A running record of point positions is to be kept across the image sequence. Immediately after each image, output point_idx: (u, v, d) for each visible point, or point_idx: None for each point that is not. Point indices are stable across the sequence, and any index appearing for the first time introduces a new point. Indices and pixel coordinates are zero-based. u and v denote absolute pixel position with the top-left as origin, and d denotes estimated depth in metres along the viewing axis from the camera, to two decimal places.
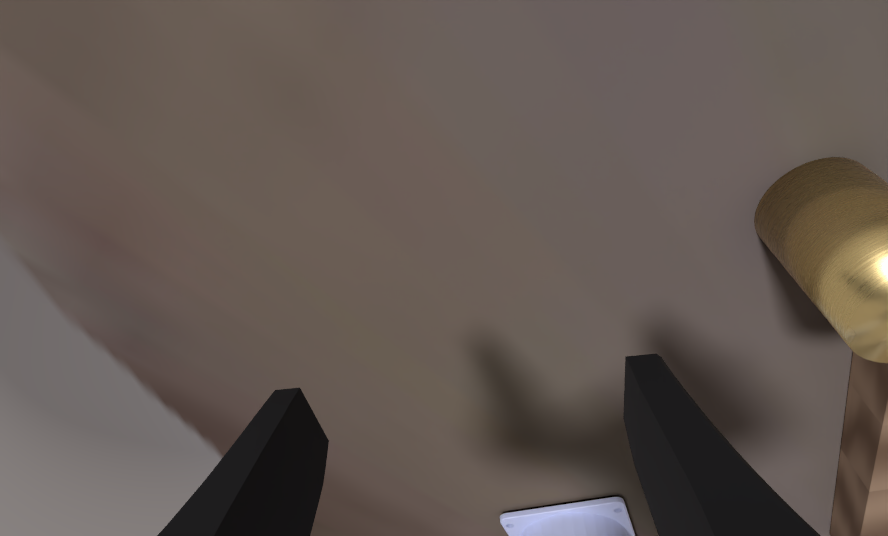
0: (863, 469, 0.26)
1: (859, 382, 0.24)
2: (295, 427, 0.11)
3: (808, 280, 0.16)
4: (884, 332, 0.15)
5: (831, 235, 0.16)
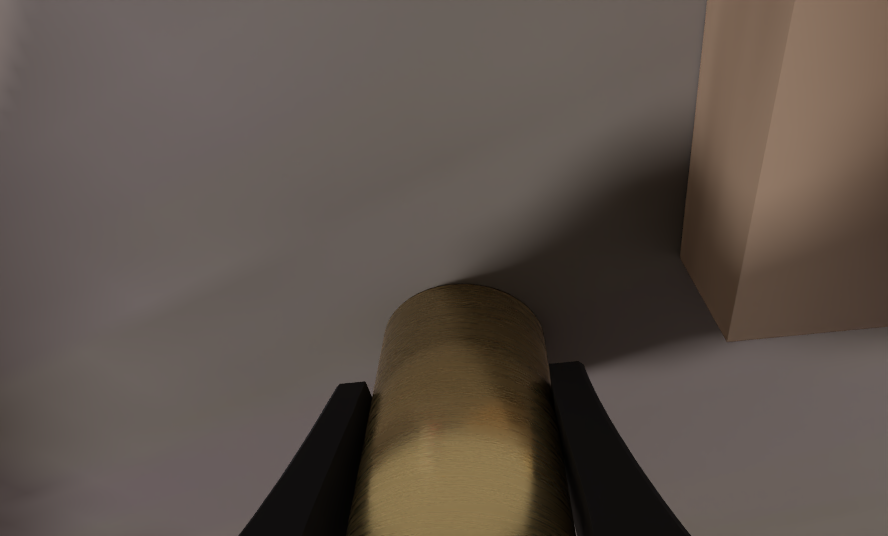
0: None
1: None
2: (363, 421, 0.11)
3: None
4: None
5: None
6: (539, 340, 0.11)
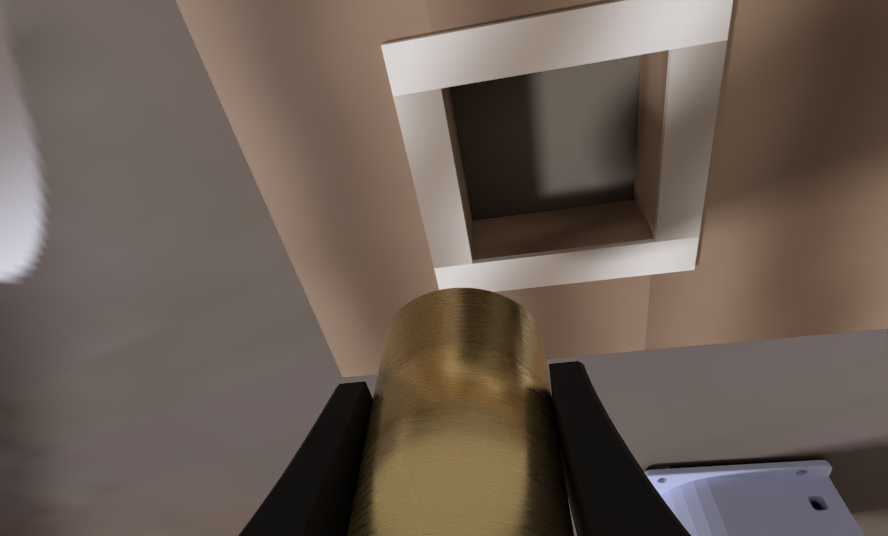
0: None
1: None
2: (363, 422, 0.11)
3: None
4: None
5: None
6: (541, 348, 0.12)
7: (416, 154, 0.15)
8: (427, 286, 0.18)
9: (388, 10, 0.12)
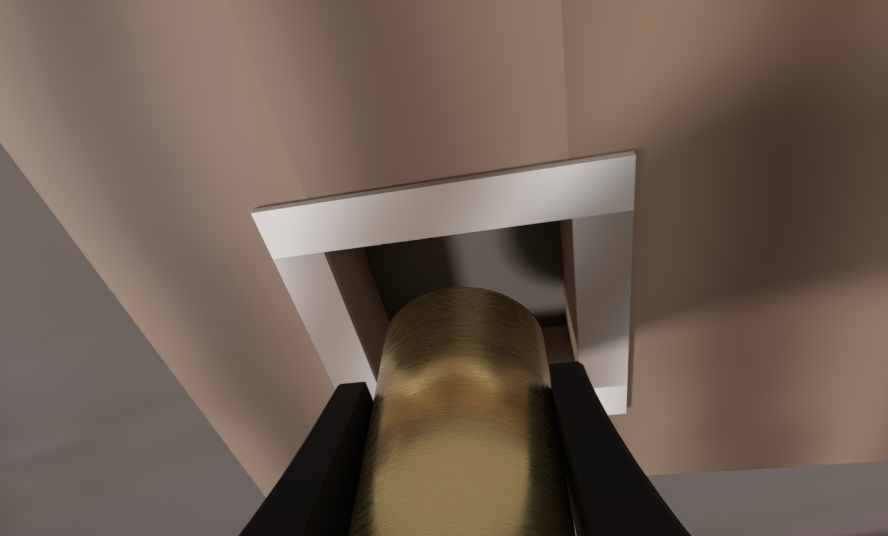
0: None
1: None
2: (363, 421, 0.11)
3: None
4: None
5: None
6: (542, 348, 0.12)
7: (308, 310, 0.13)
8: None
9: (255, 178, 0.11)
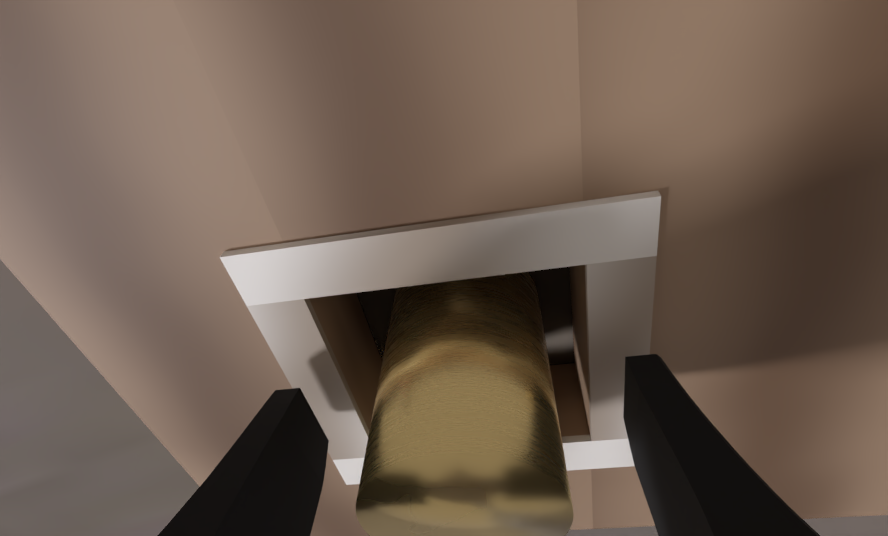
0: None
1: None
2: (295, 427, 0.11)
3: None
4: None
5: None
6: (536, 300, 0.13)
7: (288, 359, 0.12)
8: (330, 472, 0.15)
9: (224, 219, 0.10)
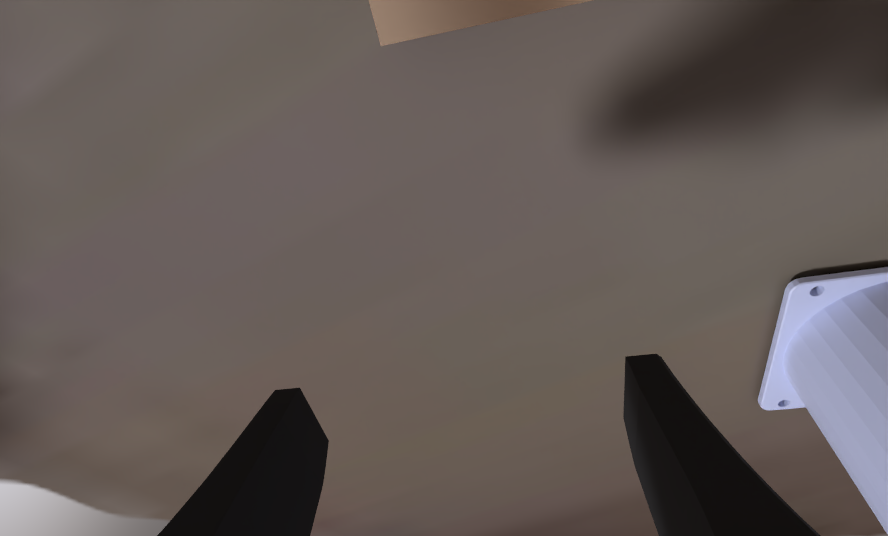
0: None
1: None
2: (294, 427, 0.11)
3: None
4: None
5: None
6: None
7: None
8: None
9: None
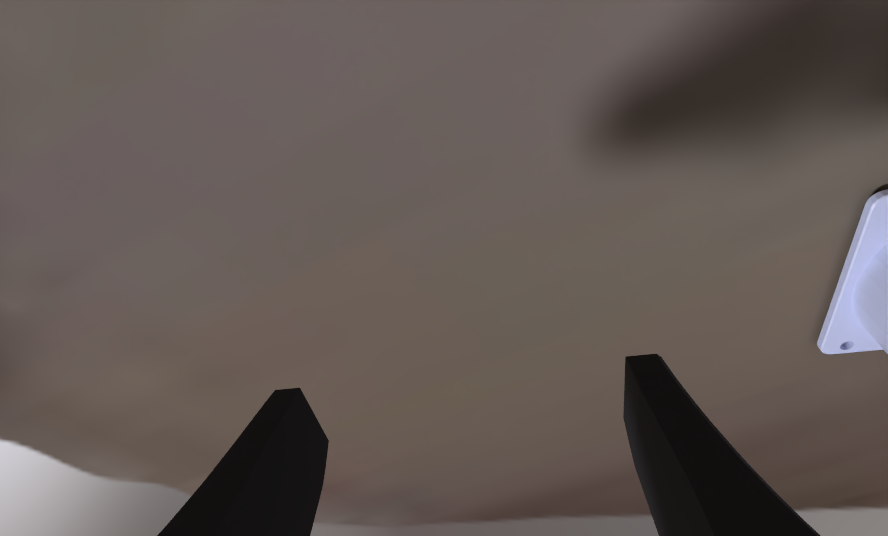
0: None
1: None
2: (294, 427, 0.11)
3: None
4: None
5: None
6: None
7: None
8: None
9: None
